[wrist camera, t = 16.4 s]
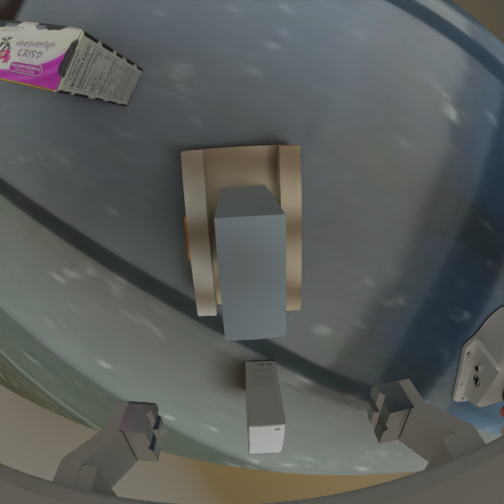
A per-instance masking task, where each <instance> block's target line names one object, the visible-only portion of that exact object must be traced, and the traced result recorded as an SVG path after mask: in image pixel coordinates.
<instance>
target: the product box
mask: <svg viewBox="0 0 504 504" xmlns="http://www.w3.org/2000/svg"><path fill="white" fill-rule="evenodd" d="M214 222H215V235H216V247H217V259H218V270H219V282H220V292H221V303H222V313H223V323H224V333H225V341H234V340H251V339H266V338H279V337H286V214H285V212H284V211H283V209H282V208H281V207H280V205H279V204H278V202H277V201H276V199H275V198H274V196H273V195H272V194H271V192H270V191H269V189H268V188H267V186H266V185H264V186H243V187H226V188H222V189H221V193H220V197H219V201H218V205H217V209H216V213H215V217H214Z"/></svg>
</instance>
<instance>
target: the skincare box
mask: <svg viewBox="0 0 504 504" xmlns="http://www.w3.org/2000/svg"><path fill="white" fill-rule="evenodd" d="M245 368H246V412H247V430H248V445H249V453H250V454H253V453H276V452H282V446H283V441H284V434H285V425H286V423H285V417H284V411H283V405H282V399H281V393H280V387H279V381H278V375H277V369H276V363H275V361H257V362H246V363H245Z"/></svg>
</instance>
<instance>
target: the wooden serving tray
mask: <svg viewBox="0 0 504 504" xmlns="http://www.w3.org/2000/svg"><path fill="white" fill-rule="evenodd" d="M181 163H182V176H183V188H184V199H185V210H186V214H185V216H184V225H185V235H186V244H187V252H188V260H191V266H192V274H193V282H194V290H195V298H196V305H197V312H198V316H215V315H217V305H218V304H222V303H221V292H220V282H219V270H218V259H217V247H216V235H215V222H214V217H215V213H216V209H217V205H218V201H219V197H220V193H221V189H222V188H226V187H243V186H264V185H266V186H267V188H268V189H269V191H270V192H271V194H272V195H273V196H274V198H275V199H276V201H277V202H278V204H279V205H280V207H281V208H282V209H283V211H284V212H285V214H286V311H291V310H301V278H302V181H301V145H256V146H236V147H220V148H206V149H194V150H186V151H182V152H181Z"/></svg>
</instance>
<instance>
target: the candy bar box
mask: <svg viewBox="0 0 504 504" xmlns="http://www.w3.org/2000/svg"><path fill="white" fill-rule="evenodd" d="M142 72H143V69H141V68H140V67H138V66H137V65H136V64H134V63H133V62H131V61H130V60H128V59H127V58H125V57H124V56H122V55H121V54H119V53H118V52H116V51H115V50H113V49H112V48H110V47H109V46H107V45H106V44H104V43H103V42H101V41H99V40H97V39H96V38H94V37H93V36H91V35H90V34H88V33H86V32H85V31H84V30H83V29H78V28H72V27H66V26H60V25H52V24H44V23H34V22H21V21H3V20H0V80H1V81H6V82H11V83H16V84H20V85H25V86H30V87H34V88H39V89H43V90H48V91H52V92H57V93H64V94H69V95H74V96H79V97H84V98H90V99H95V100H100V101H105V102H109V103H114V104H118V105H122V106H128V104H129V101H130V99H131V97H132V94H133V91H134V89H135V87H136V84H137V82H138V80H139V78H140V76H141V74H142Z"/></svg>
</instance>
